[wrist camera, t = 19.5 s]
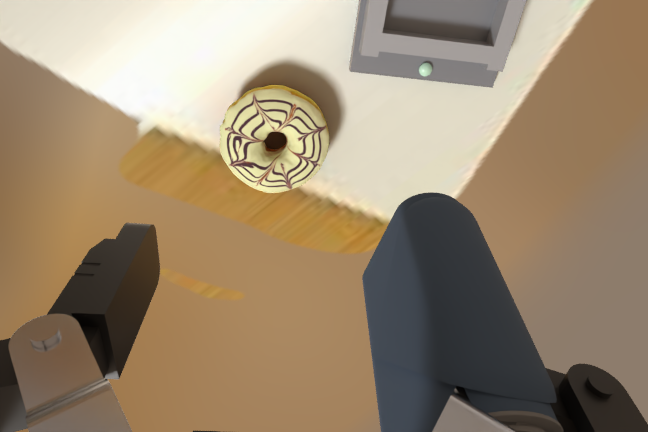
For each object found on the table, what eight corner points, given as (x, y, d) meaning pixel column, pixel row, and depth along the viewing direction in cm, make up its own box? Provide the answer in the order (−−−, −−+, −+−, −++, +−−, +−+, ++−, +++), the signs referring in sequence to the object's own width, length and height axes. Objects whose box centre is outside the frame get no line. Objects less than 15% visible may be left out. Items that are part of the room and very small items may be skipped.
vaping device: (350, 288, 16) (402, 854, 7) (408, 176, 13) (644, 923, 4) (413, 301, 17) (540, 843, 7) (483, 195, 14) (849, 894, 4)
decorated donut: (209, 158, 45) (202, 173, 42) (245, 62, 41) (241, 71, 38) (299, 194, 48) (300, 211, 45) (343, 108, 44) (347, 120, 40)
